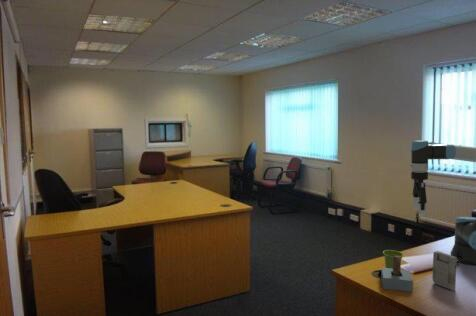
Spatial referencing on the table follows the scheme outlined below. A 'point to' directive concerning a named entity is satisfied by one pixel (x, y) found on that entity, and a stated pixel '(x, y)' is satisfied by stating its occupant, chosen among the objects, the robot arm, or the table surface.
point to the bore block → (397, 280)
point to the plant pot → (390, 257)
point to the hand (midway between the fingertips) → (419, 212)
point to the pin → (396, 265)
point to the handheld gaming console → (444, 270)
